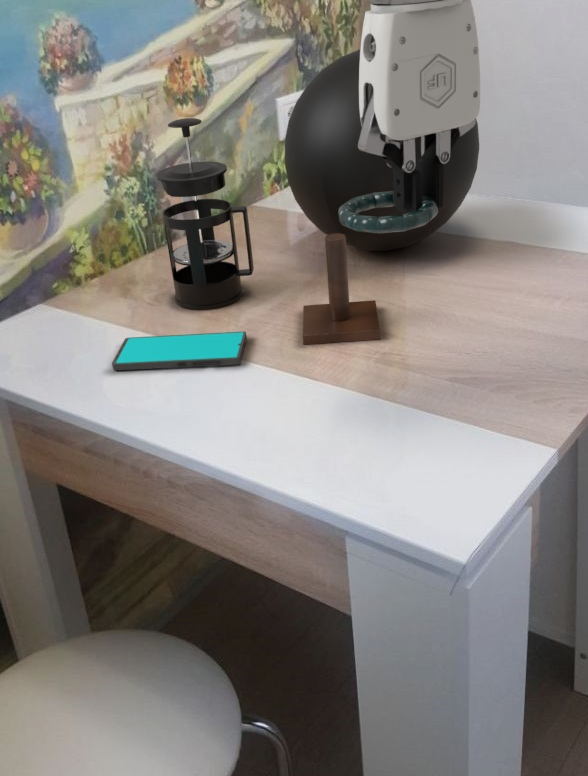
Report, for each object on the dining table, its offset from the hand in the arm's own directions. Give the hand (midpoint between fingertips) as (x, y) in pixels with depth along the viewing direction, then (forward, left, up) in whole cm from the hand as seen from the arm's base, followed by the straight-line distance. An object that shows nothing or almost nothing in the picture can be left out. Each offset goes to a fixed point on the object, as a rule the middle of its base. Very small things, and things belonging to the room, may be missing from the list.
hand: (419, 208), depth 81 cm
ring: (+3, +2, 0) cm, 4 cm away
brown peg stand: (+8, -17, -19) cm, 27 cm away
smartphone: (+27, -12, -19) cm, 35 cm away
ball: (+1, -45, -19) cm, 49 cm away
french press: (+25, -30, -19) cm, 44 cm away
